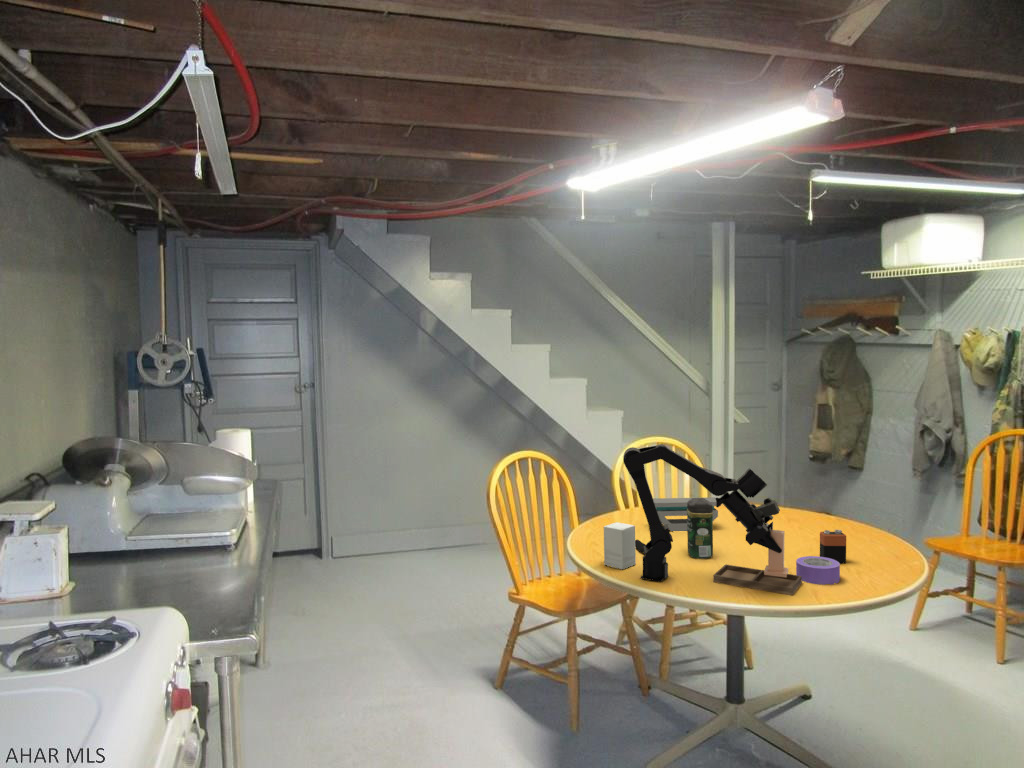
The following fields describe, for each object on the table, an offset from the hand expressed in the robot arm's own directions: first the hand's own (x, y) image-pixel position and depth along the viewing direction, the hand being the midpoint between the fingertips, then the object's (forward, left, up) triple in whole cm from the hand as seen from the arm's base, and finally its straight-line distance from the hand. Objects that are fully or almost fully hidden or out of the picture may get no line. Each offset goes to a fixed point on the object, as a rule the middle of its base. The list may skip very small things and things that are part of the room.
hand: (781, 550), depth 202 cm
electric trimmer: (-46, +11, -11) cm, 48 cm away
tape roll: (+7, +13, -11) cm, 18 cm away
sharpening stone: (-46, +48, -10) cm, 67 cm away
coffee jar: (-30, +18, -10) cm, 36 cm away
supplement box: (-48, -5, -10) cm, 49 cm away
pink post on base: (-1, 0, -7) cm, 7 cm away
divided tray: (-7, 0, -10) cm, 12 cm away
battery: (+8, +32, -10) cm, 35 cm away
